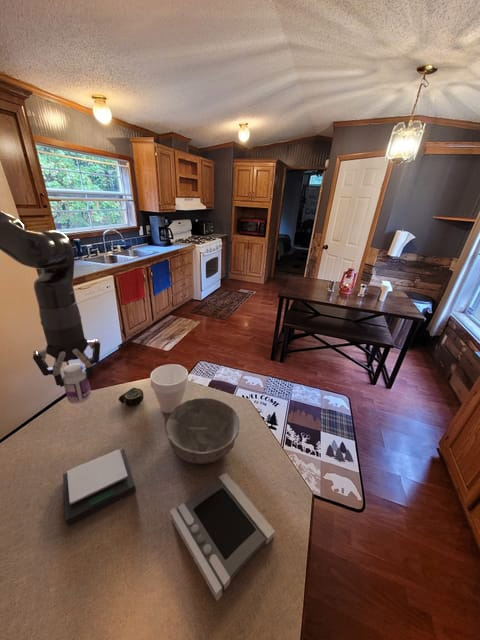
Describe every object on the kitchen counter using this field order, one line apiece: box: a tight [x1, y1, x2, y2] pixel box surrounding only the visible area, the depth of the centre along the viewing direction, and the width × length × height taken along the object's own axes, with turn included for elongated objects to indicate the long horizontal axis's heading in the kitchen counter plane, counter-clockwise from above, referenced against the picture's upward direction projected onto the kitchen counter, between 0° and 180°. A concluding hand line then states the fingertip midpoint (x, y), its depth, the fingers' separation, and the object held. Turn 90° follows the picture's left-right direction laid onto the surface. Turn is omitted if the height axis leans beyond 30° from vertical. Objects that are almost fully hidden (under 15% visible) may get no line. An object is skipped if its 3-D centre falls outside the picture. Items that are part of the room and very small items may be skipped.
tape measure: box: [117, 387, 145, 407], centre depth 90 cm, size 7×7×4 cm
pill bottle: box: [62, 362, 92, 405], centre depth 66 cm, size 5×5×10 cm
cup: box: [149, 363, 189, 414], centre depth 87 cm, size 12×12×14 cm
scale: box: [62, 448, 137, 528], centre depth 62 cm, size 14×12×4 cm
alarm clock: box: [169, 472, 276, 602], centre depth 56 cm, size 17×5×16 cm
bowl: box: [165, 397, 240, 464], centre depth 73 cm, size 21×21×10 cm
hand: (75, 381), depth 65 cm, fingers closed on pill bottle, 5 cm apart
